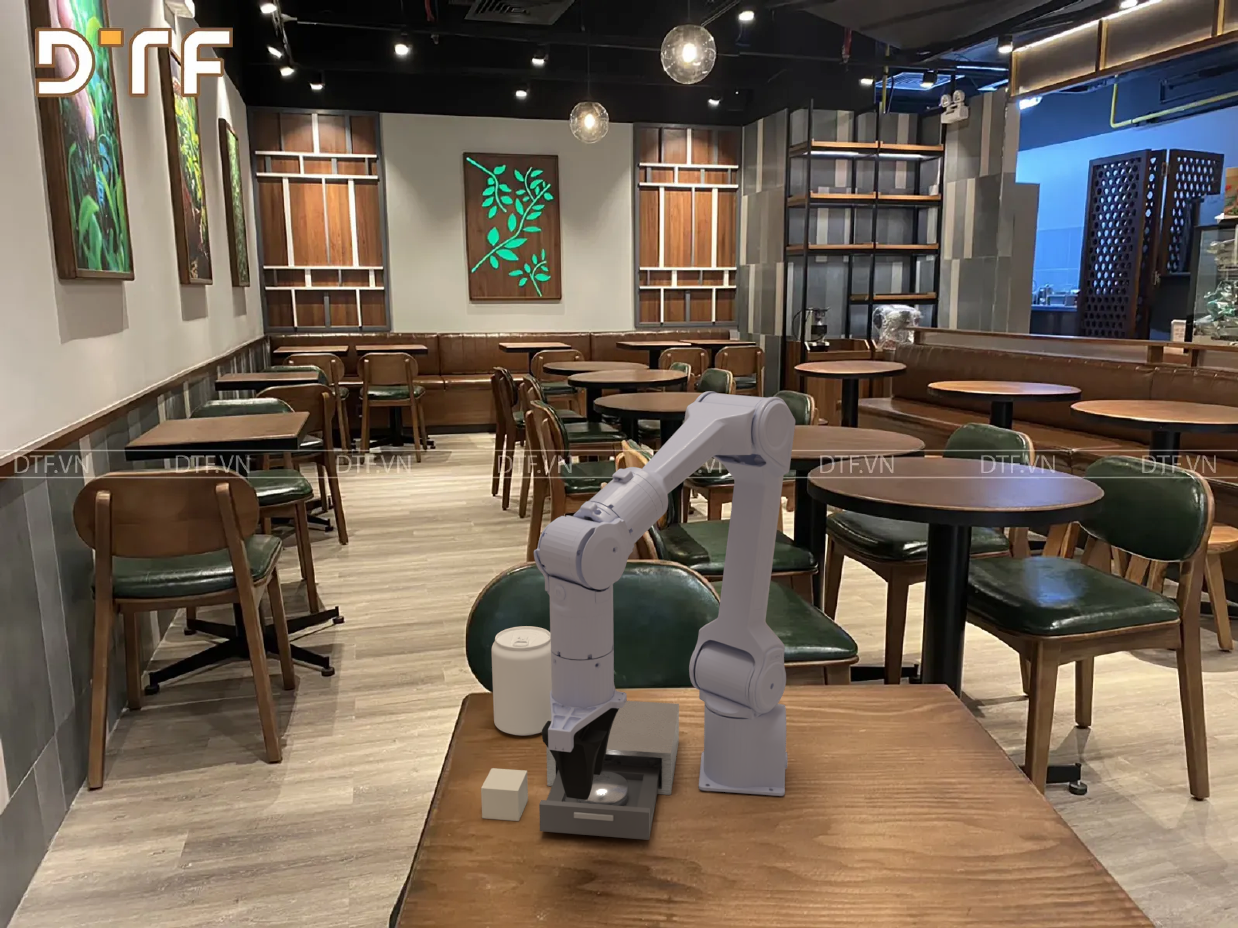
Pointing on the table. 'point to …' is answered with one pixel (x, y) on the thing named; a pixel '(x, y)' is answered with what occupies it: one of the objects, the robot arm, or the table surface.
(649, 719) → the box
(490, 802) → the riser block
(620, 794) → the disc
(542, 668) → the beverage can
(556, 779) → the tray
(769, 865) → the table surface
